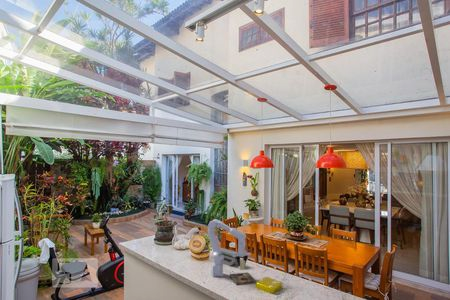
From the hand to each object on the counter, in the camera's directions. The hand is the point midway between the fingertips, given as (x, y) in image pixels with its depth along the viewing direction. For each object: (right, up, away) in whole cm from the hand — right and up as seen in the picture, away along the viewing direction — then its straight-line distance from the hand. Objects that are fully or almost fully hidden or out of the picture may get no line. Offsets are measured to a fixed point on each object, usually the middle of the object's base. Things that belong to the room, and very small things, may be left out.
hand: (241, 265), depth 215 cm
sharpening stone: (-11, -12, +31) cm, 35 cm away
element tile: (+19, -9, -17) cm, 28 cm away
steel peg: (0, -2, 0) cm, 3 cm away
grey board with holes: (+1, -9, -3) cm, 10 cm away
